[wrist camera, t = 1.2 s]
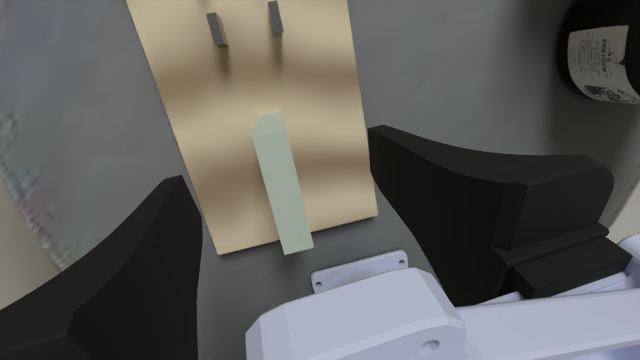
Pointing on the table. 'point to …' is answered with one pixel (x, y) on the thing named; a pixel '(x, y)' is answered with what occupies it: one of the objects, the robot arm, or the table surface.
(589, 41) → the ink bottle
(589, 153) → the table surface
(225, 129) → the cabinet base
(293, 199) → the pale green flat block
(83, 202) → the table surface
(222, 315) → the table surface
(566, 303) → the robot arm
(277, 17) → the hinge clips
